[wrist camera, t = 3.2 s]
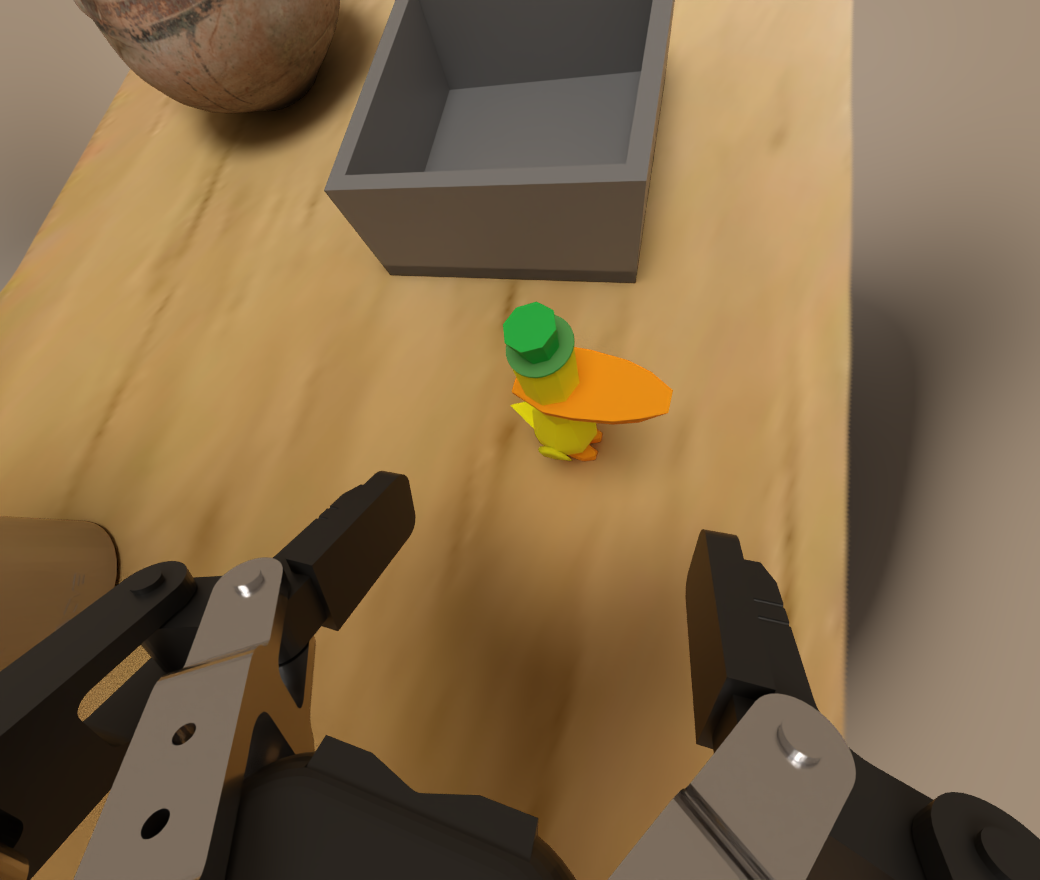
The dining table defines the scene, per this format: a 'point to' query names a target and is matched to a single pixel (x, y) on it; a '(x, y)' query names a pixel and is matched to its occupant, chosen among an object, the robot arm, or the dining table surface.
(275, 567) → the robot arm
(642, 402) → the toy figure
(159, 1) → the cooking pot
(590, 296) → the dining table surface
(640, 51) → the bin
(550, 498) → the dining table surface
